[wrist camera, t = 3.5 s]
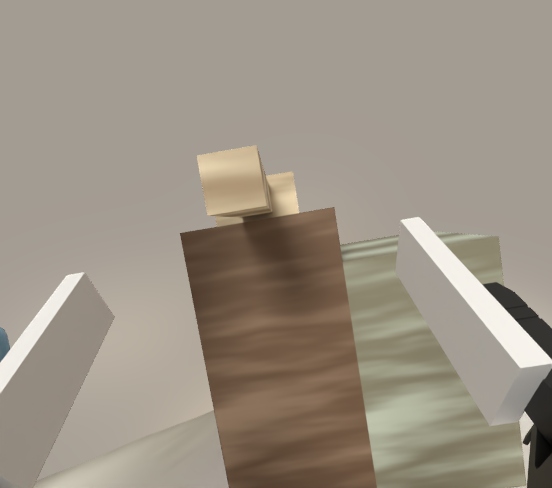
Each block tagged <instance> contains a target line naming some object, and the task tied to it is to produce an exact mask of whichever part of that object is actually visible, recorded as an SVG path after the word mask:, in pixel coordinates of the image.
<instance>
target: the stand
mask: <svg viewBox="0 0 552 488" xmlns="http://www.w3.org/2000/svg"><path fill="white" fill-rule="evenodd" d="M434 233H435V234H436V236H437V237H438V238H439V239H440V240H441V241H442V242H443V243H444V244H445V245H446V246H447V247H448V248H449V250H450V251H451V252H452V253H453V254H454V255H455V256H456V257H457V258H458V259H459V260H460V261H461V262H462V263H463V265H464V266H465V267H466V268H467V269H468V270H469V271H470V272H471V273H472V274H473V275H474V276H475V277H476V279H477V280H478V281H479V282H480V283H481V284H487V283H493V282H497V283H499V284H501V285H503V286H504V281H503V273H502V263H501V255H500V245H499V237H498V236H485V235H471V234H458V233H444V232H434ZM180 236H181V240H182V246H183V251H184V257H185V262H186V267H187V272H188V277H189V282H190V288H191V293H192V298H193V303H194V308H195V313H196V319H197V324H198V329H199V334H200V339H201V345H202V350H203V355H204V360H205V365H206V370H207V376H208V381H209V386H210V391H211V397H212V402H213V407H214V412H215V417H216V423H217V428H218V433H219V438H220V443H221V449H222V454H223V459H224V464H225V469H226V474H227V480H228V485H229V488H511V487H518V486H525V485H526V478H525V469H524V460H523V451H522V442H521V433H520V424H519V421H518V422H515V423H508V424H501V425H494V426H489V424H488V422H487V421H486V419H485V417H484V416H483V414H482V413H481V411H480V409H479V408H478V406H477V404H476V403H475V401H474V400H473V398H472V396H471V395H470V393H469V391H468V390H467V388H466V386H465V385H464V383H463V382H462V380H461V378H460V377H459V375H458V373H457V372H456V370H455V369H454V367H453V365H452V364H451V362H450V360H449V359H448V357H447V355H446V354H445V352H444V351H443V349H442V347H441V346H440V344H439V342H438V341H437V339H436V338H435V336H434V334H433V333H432V331H431V329H430V328H429V326H428V324H427V323H426V321H425V320H424V318H423V316H422V315H421V313H420V311H419V310H418V308H417V307H416V305H415V303H414V302H413V300H412V298H411V297H410V295H409V293H408V292H407V290H406V289H405V287H404V285H403V284H402V282H401V280H400V279H399V277H398V276H397V274H396V272H395V270H396V259H397V249H398V238H399V235H396V236H390V237H384V238H378V239H373V240H366V241H360V242H354V243H348V244H342V245H340V242H339V235H338V229H337V223H336V216H335V209H334V207H332V208H327V209H320V210H314V211H309V212H303V213H297V214H291V215H285V216H279V217H273V218H267V219H261V220H255V221H249V222H243V223H237V224H232V225H226V226H220V227H214V228H208V229H202V230H196V231H190V232H185V233H180Z"/></svg>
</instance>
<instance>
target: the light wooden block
mask: <svg viewBox="0 0 552 488" xmlns="http://www.w3.org/2000/svg"><path fill="white" fill-rule="evenodd" d="M197 160H198V165H199V171H200V176H201V182H202V187H203V193H204V198H205V204H206V208H207V214H208V216H215V217H216V222H217V227H220V226H226V225H232V224H237V223H243V222H249V221H255V220H261V219H267V218H273V217H279V216H285V215H291V214H297V213H299V208H298V202H297V195H296V189H295V183H294V177H293V172H286V173H280V174H274V175H269V176H266V175H265V171H264V169H263V165H262V162H261V158H260V155H259V152H258V149H257V146H256V145H254V146H249V147H244V148H237V149H232V150H226V151H220V152H215V153H209V154H203V155H198V156H197Z"/></svg>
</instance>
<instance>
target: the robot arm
mask: <svg viewBox="0 0 552 488" xmlns="http://www.w3.org/2000/svg"><path fill="white" fill-rule="evenodd" d="M395 272H396V274H397V276H398V277H399V279H400V280H401V282H402V284H403V285H404V287H405V289H406V290H407V292H408V293H409V295H410V297H411V298H412V300H413V302H414V303H415V305H416V307H417V308H418V310H419V311H420V313H421V315H422V316H423V318H424V320H425V321H426V323H427V324H428V326H429V328H430V329H431V331H432V333H433V334H434V336H435V338H436V339H437V341H438V342H439V344H440V346H441V347H442V349H443V351H444V352H445V354H446V355H447V357H448V359H449V360H450V362H451V364H452V365H453V367H454V369H455V370H456V372H457V373H458V375H459V377H460V378H461V380H462V382H463V383H464V385H465V386H466V388H467V390H468V391H469V393H470V395H471V396H472V398H473V400H474V401H475V403H476V404H477V406H478V408H479V409H480V411H481V413H482V414H483V416H484V417H485V419H486V421H487V422H488V424H489V426H494V425H501V424H508V423H515V422H518V421H519V419H520V418H521V416H522V415H523V413H524V411H525V412H526V413H527V415H528V416H529V417H530V419H531V420H532V421H533V423H534V424H533V426H532V427H531V429H530V430H529V432H528V433H527V435H526V436H525V438H524V441H523V443H524V444H526V445H528V444H529V443H530V441H531V443H530V456H529V468H528V480H527V488H552V328H550V326H549V325H548V324H547V323H546V322H544V321H543V320H542V319H540V318H539V317H538V315H537V314H536V313H535V312H534V311H533V310H532V309H531V308H528V306H527V304H526V303H525V302H524V301H523V300H522V299H521V298H520V297H519V296H518V295H517V294H516V293H515V292H513V291H511V290H510V289H508V288H506V287H504V286H503V285H501V284H499V283H497V282H493V283H487V284H481V283H480V282H479V281H478V280H477V279H476V277H475V276H474V275H473V274H472V273H471V272H470V271H469V270H468V269H467V268H466V267H465V266H464V265H463V263H462V262H461V261H460V260H459V259H458V258H457V257H456V256H455V255H454V254H453V253H452V252H451V251H450V250H449V248H448V247H447V246H446V245H445V244H444V243H443V242H442V241H441V240H440V239H439V238H438V237H437V236H436V234H435V233H434V232H433V231H432V230H431V229H430V228H429V227H428V226H427V225H426V224H425V223H424V222H423V220H422V219H421V218H420V217H416V218H410V219H404V220H400V228H399V238H398V249H397V259H396V270H395ZM113 320H114V315H113V314H112V312H111V311H110V309H109V308H108V306H107V305H106V303H105V302H104V300H103V299H102V297H101V296H100V294H99V293H98V291H97V290H96V288H95V287H94V285H93V284H92V282H91V281H90V279H89V278H88V276H87V275H86V273H85V272H83V273H77V274H72V275H67V276H66V277H65V278H64V280H63V281H62V282H61V284H60V285H59V286H58V288H57V289H56V290H55V292H54V293H53V294H52V296H51V297H50V298H49V299H48V301H47V302H46V304H45V305H44V306H43V307H42V309H41V310H40V311H39V313H38V314H37V315H36V317H35V318H34V319H33V320H32V322H31V323H30V324H29V326H28V327H27V328H26V330H25V331H24V332H23V334H22V335H21V336H20V337H19V339H18V340H17V341H16V343H15V344H14V346H13V347H12V348H11V349H10V346H9V341H8V336H7V334H6V332H5V330H4V329H3V328H0V488H33V486H34V484H35V482H36V480H37V478H38V476H39V473H40V471H41V469H42V467H43V465H44V463H45V461H46V459H47V457H48V455H49V453H50V451H51V449H52V446H53V444H54V442H55V440H56V438H57V436H58V434H59V432H60V430H61V427H62V425H63V424H64V422H65V419H66V417H67V415H68V413H69V411H70V409H71V407H72V405H73V403H74V400H75V398H76V396H77V394H78V392H79V390H80V388H81V386H82V384H83V382H84V380H85V378H86V376H87V373H88V372H89V369H90V367H91V365H92V363H93V361H94V359H95V357H96V355H97V353H98V351H99V349H100V346H101V344H102V342H103V340H104V338H105V336H106V334H107V332H108V330H109V328H110V326H111V324H112V322H113Z"/></svg>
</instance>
